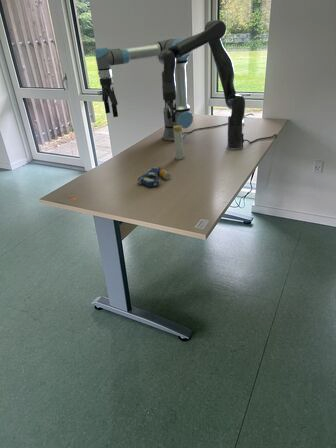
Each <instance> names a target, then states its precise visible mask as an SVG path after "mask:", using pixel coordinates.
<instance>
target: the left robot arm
mask: <svg viewBox="0 0 336 448" xmlns="http://www.w3.org/2000/svg"><path fill="white" fill-rule="evenodd" d="M183 40H184V39H182V38H169V39H164V40H161V41H155V42H154V43H153V44H144V45H135V46H127V47H119V48H108V47H97V48H95V50H94V57H95V62H96V66H97V75H98V78H99V84H100V86H101V101H102V102H103V105H104V110H105V114H110V113H111V111H112V115H113V116H112V117H113V118H118V117H119V113H118V105H119V104H118V100H117V97H116V93H115V89H114V87H112V86H113V85H114V80H113V73H112V66H117V65H125V64H128V63H130V62H131V61H139V60H146V59H154V58H156V59H157V60H159V59H158V56H159V54H160V52H161V51H163V50H164V49H167V48H169V47H171V46H174V45H176V44H177V43H179V42H181V41H183ZM190 56H191V52H190V53H189V54H187V55H185V56H183V57H181V58H177V59H176V64H175V72H174V74H175V84H176V97H177V98H176V99H175V100H174V103H176V112H177V114H176V115H175V119H176V121H175V122H172V120H171V119H168V118H167V112H166V110H165V106H164V107H163V122H164V130H163V135H162V139H163V140H164V141H167V142H175V140H174V131H173V126H175V125H181V126H182V130H183V129H184V130H185V129H188V128H190V126H191V125H192V124H193V121H194V115H193V113H192V112H191V109H190V108H191V107H190V105H189V104H188V90H187V71H186V65H188V60H189V58H190ZM109 102H110V103H111V104H110V103H109ZM110 105H111V106H110ZM110 107H111V109H110ZM173 113H174V112H173ZM250 115H251V116H254V114H253V113H247V114H244V117H243V118H245V117H248V116H250ZM225 125H228V122H227V123H226V122H225V123H222V124H218V125H212V126H205V127H198V128H194V129H192V130H191V131H187V132H186V131H184V132H183V131H182V139H184V137H185V136H184V134H191V133H193V132H194V131H197V130H204V129H209V128H217V127H221V126H225Z"/></svg>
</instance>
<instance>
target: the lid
mask: <svg viewBox="0 0 336 448" xmlns="http://www.w3.org/2000/svg"><path fill="white" fill-rule="evenodd" d="M173 131H182V132H183V128H182V126H181V125H175V126H173Z"/></svg>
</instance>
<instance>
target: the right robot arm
mask: <svg viewBox="0 0 336 448" xmlns="http://www.w3.org/2000/svg"><path fill="white" fill-rule="evenodd" d="M226 32H227V25H226V23H225V22H224V21H223V20H219V19H215V20H209V21H207V22H206V23H205V25H204V30H203V31H201V32H198V33H197V34H194V35H191V36H189V37H187V38H184V39H183V41H181V42H179V43H177V44H176V45H174V46H171V47H169V48H167V49H164V50H163V51H161V52H160V54H159V56H158V59H157V60H158V63H160V64H161V65H163V70H162V71H161V83H162V85H161V89H162V90H161V91H162V99H163V101H164V107H165V110H166V112H167V118H168V119H171V120H172V122H175V121H176V119H175V115H176V114H177V112H176V103H174V100H175V99H176V98H177V97H176V84H175V74H174V72H175V64H176V59H177V58H181V57H183V56H185V55H187V54H189V53H190V54H191V53H192V52H194V51H195V50H197V49H199V48H201V47H203V46H206V45H207V44H208V46H209V48H210V52H211V54H212V57H213V61H214V64H215V68H216V71H217V74H218V78H219V81H220V85H221V88H222V92H223V96H224V102H225V105H226V107H227V108H228V109H229V110H231V113H230V115H228V117H227V123H228V124H227V146H226V147H227V149H228V150H229V151H230V150H231V151H237V150H241V149H243V148H244V143H245V142H247V143H249V144H253V143H255V142H257V141H260V140H264V139H266V140H267V139H272V138H274V137H277V136H278V135H277V134H276V133H274V134H273V135H271V136H266V137H265V136H264V137H259V138H256V139H254V140H252V141H250V140H248V139H245V137H244V134H245V133H244V132H243V128H244V127H243V123H244V122H243V120H244V118H245V117H244V116H245V111H246V99H245V98H244V97H245V96H243V95H240V94H237V91H236V89H235V84H234V82H235V81H234V80H235V68H234V63H233V61H232V58H231V56H230V55H229V53H228V52H227V50H226V49H225V47H224V45H223V42H222V39H223V38H224V37H225V35H226ZM173 112H174V113H173Z"/></svg>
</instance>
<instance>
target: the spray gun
mask: <svg viewBox="0 0 336 448" xmlns="http://www.w3.org/2000/svg"><path fill="white" fill-rule="evenodd" d="M158 177H160V178H162V179H164V180H165V181H168V180H169V179H170V178H171V173H170V172H169V171H167V170H166V169H162V168H161V167H160V166H157V167H155V166H151V167H150V169H148V170H147V171H146V172H144V173H143V174H142V175H141V176H140V177H138V179H137V184H140V185H141V186H143V185H144V186H146V187H148V188H151V187H157V186H158V185H160V181H161V180H160V179H158Z"/></svg>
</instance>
